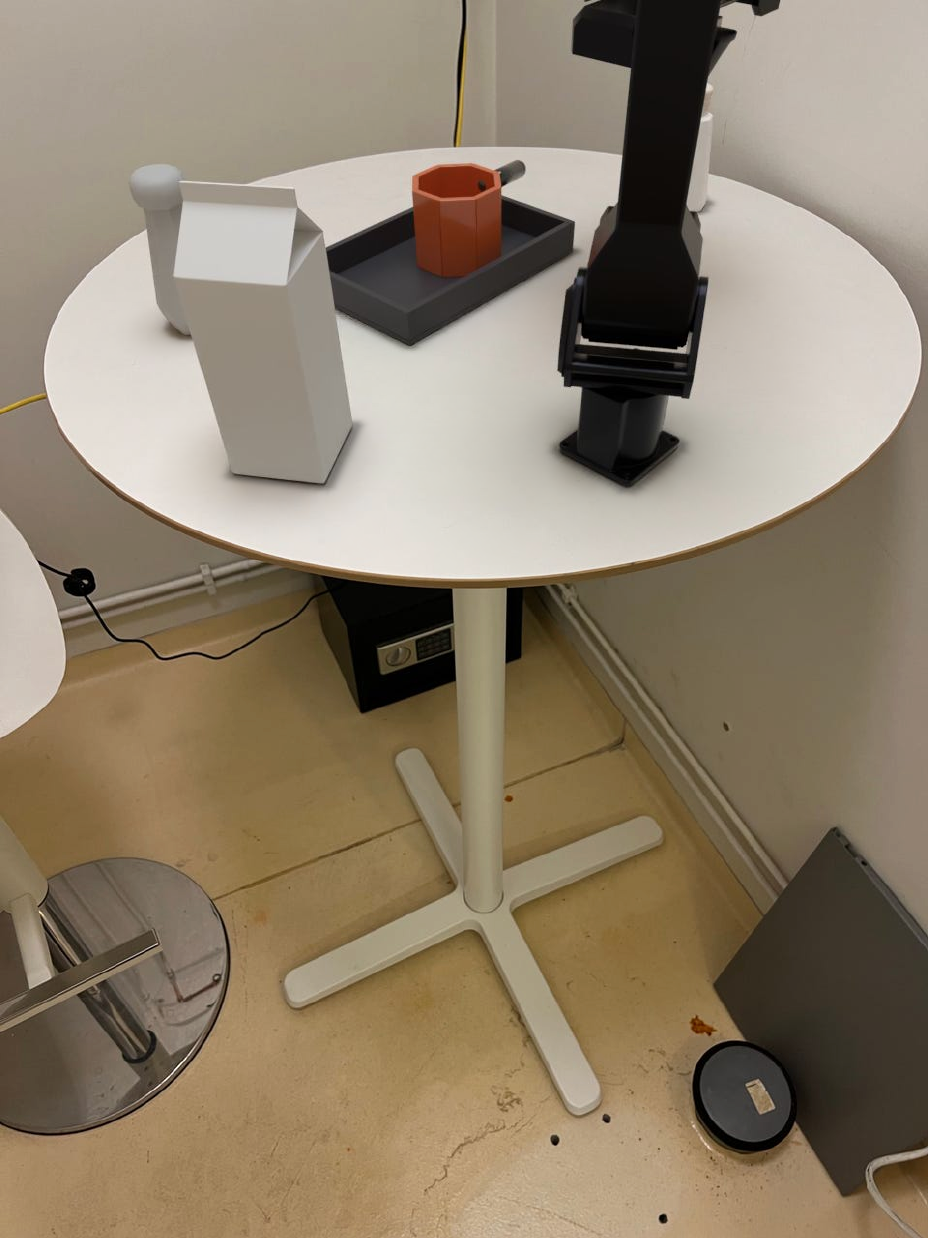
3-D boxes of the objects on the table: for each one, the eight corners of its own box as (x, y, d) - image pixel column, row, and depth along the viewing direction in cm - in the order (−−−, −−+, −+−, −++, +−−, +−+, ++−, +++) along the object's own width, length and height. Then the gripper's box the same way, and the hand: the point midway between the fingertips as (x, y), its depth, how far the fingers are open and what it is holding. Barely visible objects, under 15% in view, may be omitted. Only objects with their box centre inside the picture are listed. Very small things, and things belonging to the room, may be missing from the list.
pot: (460, 285, 78) (457, 207, 72) (400, 259, 81) (393, 183, 76) (551, 235, 84) (555, 160, 79) (492, 212, 88) (492, 139, 82)
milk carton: (325, 486, 60) (272, 214, 46) (232, 475, 61) (151, 207, 47) (353, 426, 65) (313, 163, 50) (266, 417, 66) (202, 157, 51)
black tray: (409, 345, 72) (407, 313, 70) (302, 291, 79) (296, 260, 76) (573, 252, 82) (575, 220, 80) (466, 211, 89) (465, 181, 87)
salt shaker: (244, 317, 76) (207, 164, 66) (197, 347, 73) (151, 191, 63) (198, 300, 78) (156, 150, 68) (151, 328, 75) (100, 175, 65)
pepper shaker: (684, 219, 86) (704, 99, 78) (643, 203, 89) (658, 85, 81) (716, 203, 89) (739, 84, 80) (675, 188, 91) (693, 72, 83)
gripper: (676, -150, 63) (648, 85, 75) (514, -110, 55) (510, 148, 66) (813, -137, 58) (759, 113, 70) (657, -92, 50) (625, 185, 61)
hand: (664, 137), depth 67 cm, fingers closed
